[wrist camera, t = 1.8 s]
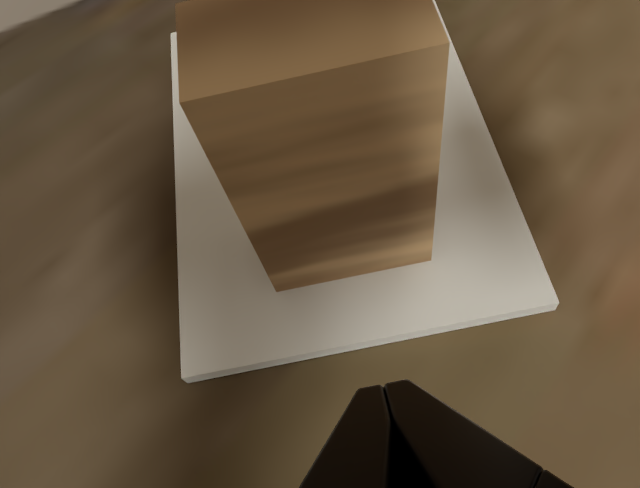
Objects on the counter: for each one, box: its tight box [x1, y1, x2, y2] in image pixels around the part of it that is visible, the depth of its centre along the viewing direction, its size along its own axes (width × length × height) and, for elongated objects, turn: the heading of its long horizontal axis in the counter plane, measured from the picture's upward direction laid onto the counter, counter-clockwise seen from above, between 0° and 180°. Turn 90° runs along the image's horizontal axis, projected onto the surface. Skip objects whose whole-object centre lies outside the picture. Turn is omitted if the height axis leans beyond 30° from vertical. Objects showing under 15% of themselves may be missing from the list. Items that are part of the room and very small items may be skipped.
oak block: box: [175, 0, 450, 292], centre depth 20 cm, size 4×7×12 cm, turn 99°
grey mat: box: [171, 0, 559, 383], centre depth 29 cm, size 22×16×1 cm
